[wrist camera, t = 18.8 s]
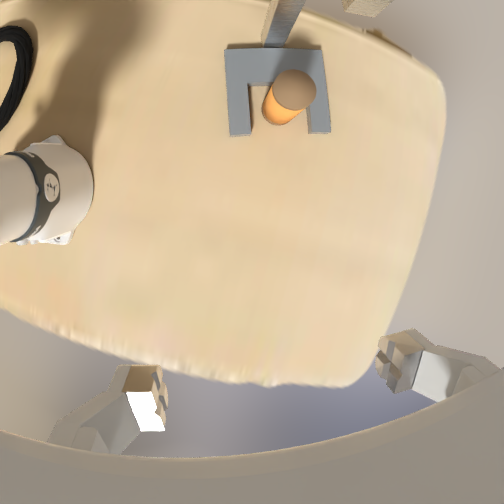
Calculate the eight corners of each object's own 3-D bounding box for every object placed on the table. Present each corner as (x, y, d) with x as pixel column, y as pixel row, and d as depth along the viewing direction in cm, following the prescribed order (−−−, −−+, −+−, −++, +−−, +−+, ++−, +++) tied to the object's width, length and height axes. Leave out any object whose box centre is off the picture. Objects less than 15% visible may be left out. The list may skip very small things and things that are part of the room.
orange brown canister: (262, 125, 42) (275, 108, 30) (260, 95, 40) (272, 68, 29) (295, 125, 42) (318, 108, 30) (292, 94, 41) (314, 70, 29)
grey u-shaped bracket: (230, 137, 42) (230, 135, 40) (224, 54, 38) (224, 49, 36) (326, 133, 43) (331, 132, 41) (317, 54, 39) (321, 50, 37)
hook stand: (267, 109, 41) (376, -39, 7) (260, 35, 37) (318, -138, 3) (287, 109, 41) (429, -20, 7) (279, 35, 38) (360, -128, 3)
